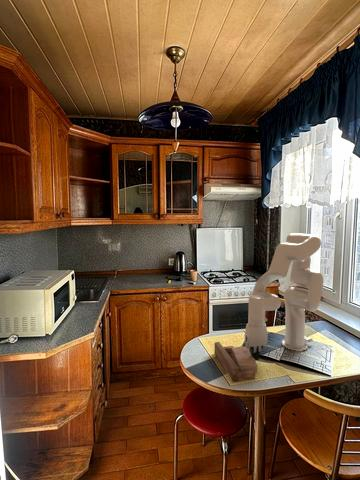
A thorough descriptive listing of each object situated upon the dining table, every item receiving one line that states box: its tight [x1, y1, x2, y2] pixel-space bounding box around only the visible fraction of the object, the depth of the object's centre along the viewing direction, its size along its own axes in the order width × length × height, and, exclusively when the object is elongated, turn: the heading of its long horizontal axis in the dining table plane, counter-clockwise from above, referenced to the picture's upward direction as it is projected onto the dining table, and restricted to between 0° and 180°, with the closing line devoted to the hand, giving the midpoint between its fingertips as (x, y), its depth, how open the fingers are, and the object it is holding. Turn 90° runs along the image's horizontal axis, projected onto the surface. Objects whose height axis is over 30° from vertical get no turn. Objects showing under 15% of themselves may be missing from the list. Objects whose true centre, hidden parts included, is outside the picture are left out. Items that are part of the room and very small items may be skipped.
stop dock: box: [214, 341, 256, 383], centre depth 125 cm, size 10×24×6 cm, turn 12°
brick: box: [230, 346, 258, 375], centre depth 127 cm, size 17×8×5 cm, turn 2°
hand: (256, 358), depth 128 cm, fingers closed
